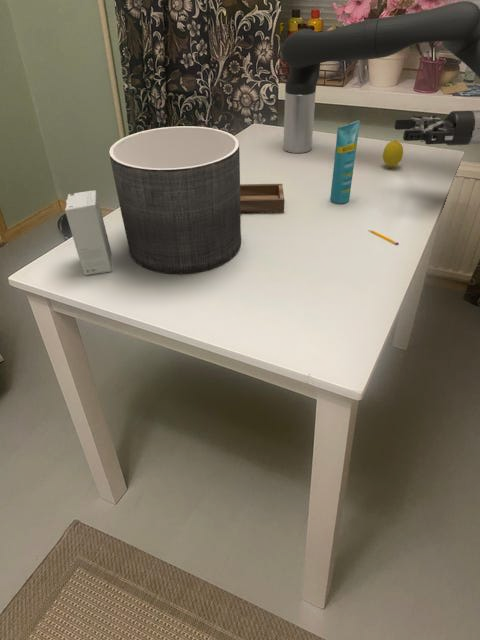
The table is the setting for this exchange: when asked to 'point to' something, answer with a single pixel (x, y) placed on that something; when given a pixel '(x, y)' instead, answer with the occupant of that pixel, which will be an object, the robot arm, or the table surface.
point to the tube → (344, 162)
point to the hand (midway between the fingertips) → (399, 129)
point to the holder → (261, 198)
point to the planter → (179, 197)
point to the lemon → (393, 153)
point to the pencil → (384, 237)
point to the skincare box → (89, 232)
